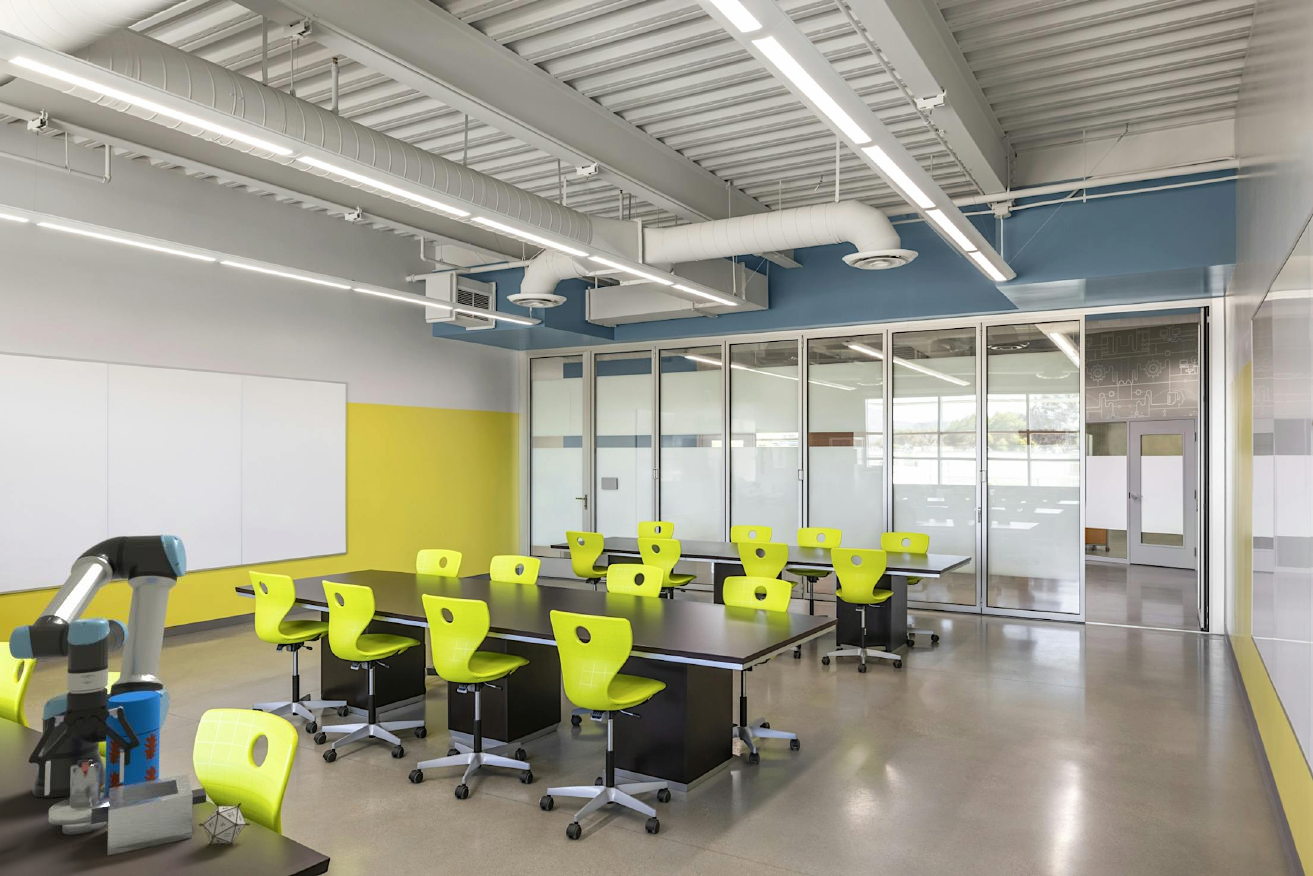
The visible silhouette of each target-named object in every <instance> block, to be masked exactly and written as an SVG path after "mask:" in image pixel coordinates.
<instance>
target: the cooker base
mask: <svg viewBox="0 0 1313 876" xmlns="http://www.w3.org/2000/svg"><path fill="white" fill-rule="evenodd" d="M203 803H204V804H205V803H207V792H206V789H205V787H204V788H203V787H202V788H198V789H193V790H192V787H191V783H190V778H189V774H181V775H176V776H170V777H166V778H159V780H153V781H147V782H142V783H136V784H130V785H125V786H119V787H113V788H109V806H105V807H99V808H94V809H92V814H91V824H96V823H102V822H106V823H107V827H108V828H107V856H111V855H116V854H121V853H126V852H131V851H134V850H140V849H145V848H151V847H155V846H158V845H164V844H169V843H173V842H177V841H178V842H179V841H184V840H188V839H192V838H193V806H194V805H200V804H203Z"/></svg>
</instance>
